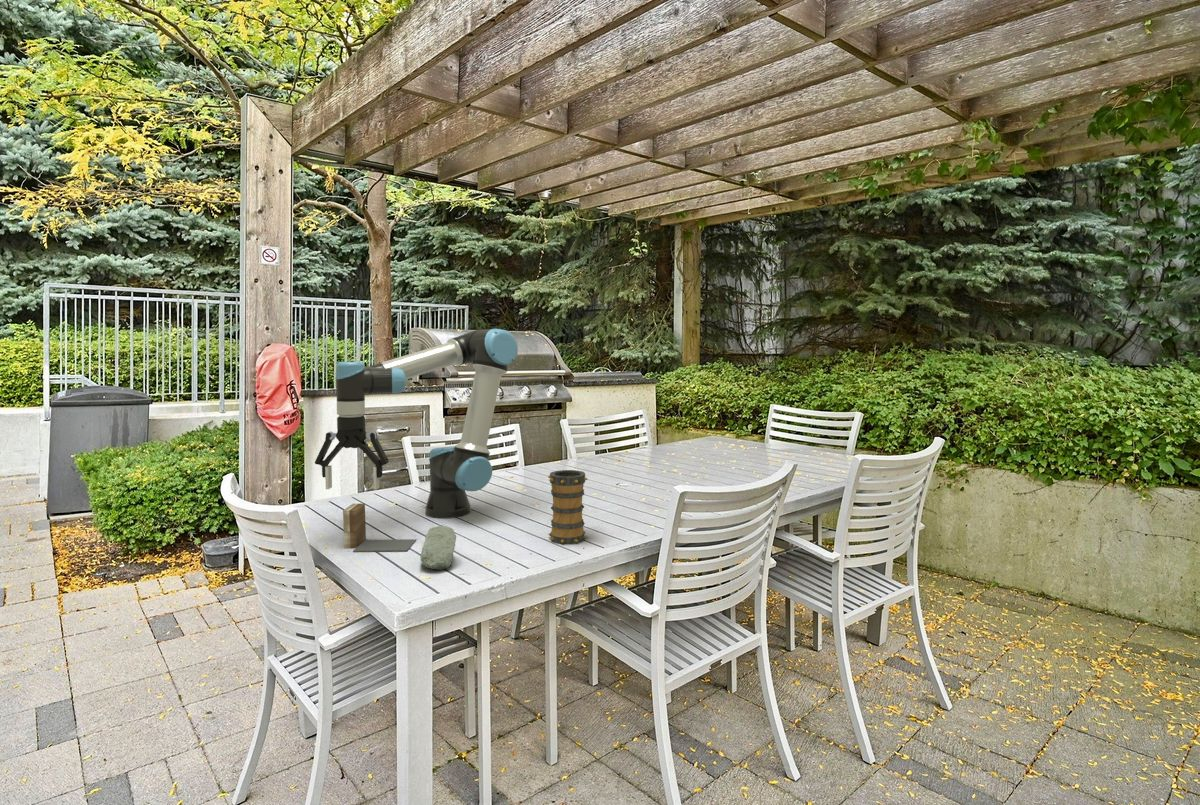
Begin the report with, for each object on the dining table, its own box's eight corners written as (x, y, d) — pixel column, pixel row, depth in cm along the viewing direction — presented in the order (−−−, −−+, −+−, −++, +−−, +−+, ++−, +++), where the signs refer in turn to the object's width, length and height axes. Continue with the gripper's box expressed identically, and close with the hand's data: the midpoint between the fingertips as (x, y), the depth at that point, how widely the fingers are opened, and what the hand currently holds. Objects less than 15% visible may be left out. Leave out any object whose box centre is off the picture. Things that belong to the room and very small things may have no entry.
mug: (540, 543, 183) (540, 476, 181) (557, 527, 200) (557, 465, 198) (582, 547, 180) (582, 479, 178) (596, 530, 197) (597, 467, 195)
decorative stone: (432, 553, 174) (414, 530, 169) (467, 540, 173) (450, 517, 168) (428, 590, 164) (408, 568, 158) (465, 577, 163) (447, 554, 157)
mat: (416, 540, 186) (416, 539, 186) (407, 551, 176) (407, 550, 176) (365, 541, 185) (365, 539, 185) (353, 552, 175) (353, 550, 175)
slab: (366, 539, 187) (364, 503, 186) (356, 548, 179) (355, 510, 178) (354, 539, 186) (352, 503, 185) (344, 548, 178) (342, 510, 177)
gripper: (398, 414, 183) (399, 485, 185) (312, 413, 182) (314, 485, 184) (391, 417, 176) (392, 491, 178) (301, 416, 175) (303, 491, 177)
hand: (352, 488), depth 181 cm, fingers open, 13 cm apart
